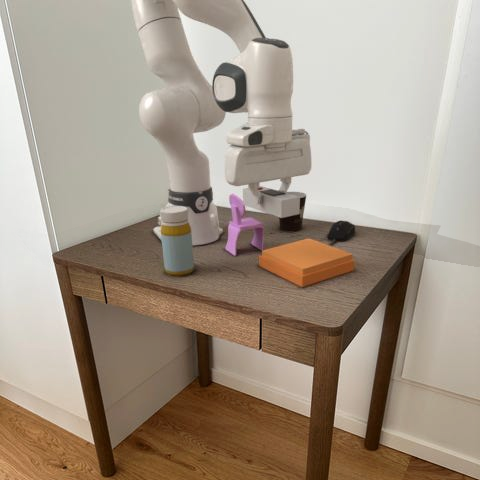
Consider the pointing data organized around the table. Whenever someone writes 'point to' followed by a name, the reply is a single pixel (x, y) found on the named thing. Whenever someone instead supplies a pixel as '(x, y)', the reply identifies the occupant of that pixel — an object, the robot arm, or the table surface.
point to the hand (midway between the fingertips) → (269, 201)
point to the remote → (273, 202)
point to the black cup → (294, 216)
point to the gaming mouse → (341, 231)
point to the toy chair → (242, 225)
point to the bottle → (176, 241)
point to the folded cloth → (306, 261)
